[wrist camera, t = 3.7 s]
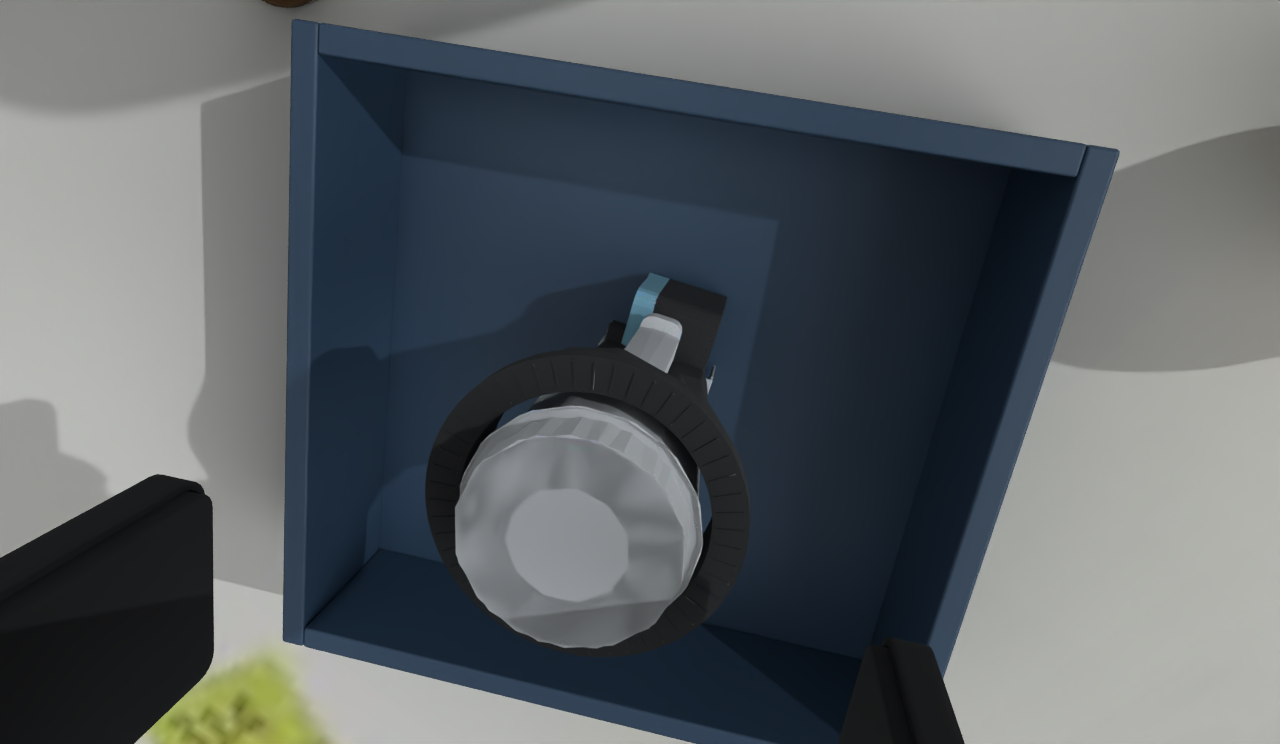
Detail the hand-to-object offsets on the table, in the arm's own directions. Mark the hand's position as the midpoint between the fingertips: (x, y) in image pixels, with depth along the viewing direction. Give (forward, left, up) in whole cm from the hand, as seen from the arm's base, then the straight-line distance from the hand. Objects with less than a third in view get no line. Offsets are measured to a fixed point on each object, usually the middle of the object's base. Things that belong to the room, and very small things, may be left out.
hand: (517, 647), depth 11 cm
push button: (0, 0, -12) cm, 11 cm away
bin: (0, 0, -12) cm, 12 cm away
